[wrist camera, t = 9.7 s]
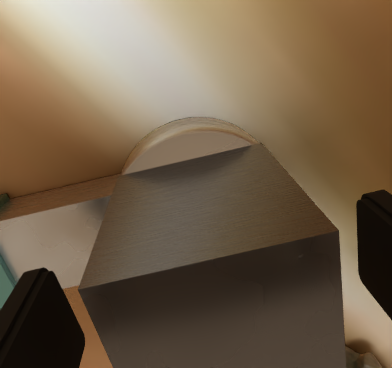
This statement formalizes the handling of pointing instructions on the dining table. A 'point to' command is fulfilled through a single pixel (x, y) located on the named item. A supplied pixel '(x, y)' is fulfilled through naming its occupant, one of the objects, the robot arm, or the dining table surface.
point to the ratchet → (93, 203)
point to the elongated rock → (360, 359)
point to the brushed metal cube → (216, 269)
